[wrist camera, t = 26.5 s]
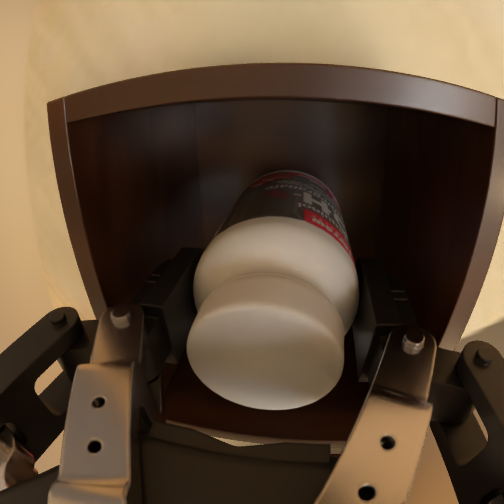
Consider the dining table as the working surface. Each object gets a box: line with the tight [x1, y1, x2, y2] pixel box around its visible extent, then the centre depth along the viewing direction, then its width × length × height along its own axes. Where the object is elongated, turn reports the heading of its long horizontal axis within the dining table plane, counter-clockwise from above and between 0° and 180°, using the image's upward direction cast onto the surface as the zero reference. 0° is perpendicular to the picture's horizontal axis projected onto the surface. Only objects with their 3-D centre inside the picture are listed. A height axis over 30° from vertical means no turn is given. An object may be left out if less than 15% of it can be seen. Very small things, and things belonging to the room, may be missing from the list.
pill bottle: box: [187, 170, 360, 410], centre depth 11 cm, size 5×5×10 cm
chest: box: [47, 63, 504, 448], centre depth 14 cm, size 15×13×12 cm
